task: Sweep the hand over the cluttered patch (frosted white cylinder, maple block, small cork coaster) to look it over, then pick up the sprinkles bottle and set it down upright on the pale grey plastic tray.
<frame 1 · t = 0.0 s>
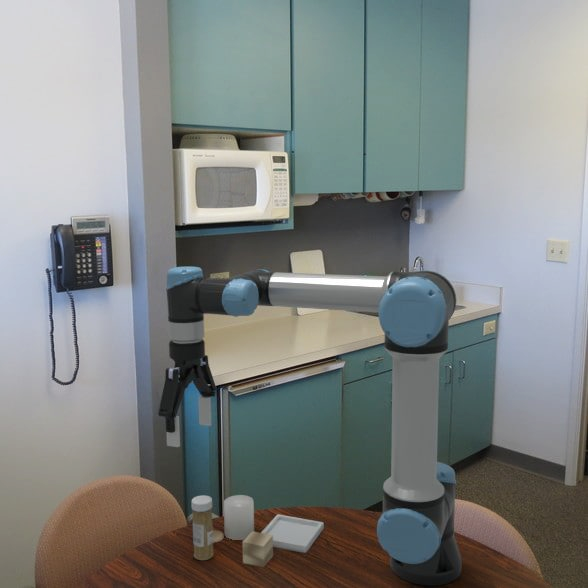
hand: (190, 435, 150), 28 cm above the table, fingers open, 13 cm apart
maple block: (258, 559, 153), on the table
cork coaster: (212, 538, 162), on the table
sprinkles bottle: (203, 556, 154), on the table
tray: (291, 536, 163), on the table
frosted white cylinder: (239, 533, 164), on the table
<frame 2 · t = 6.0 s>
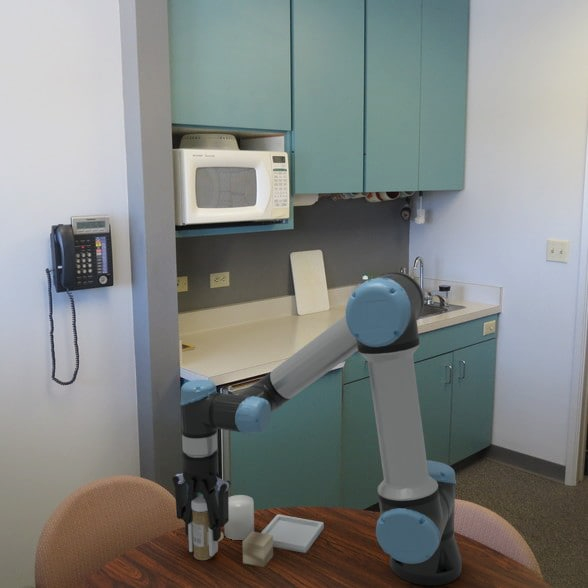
hand: (203, 550, 154), 1 cm above the table, fingers closed on sprinkles bottle, 4 cm apart
sprinkles bottle: (203, 556, 154), on the table, touching gripper
everything else where it was.
when the fingers open (3 cm above the table, at t = 11.8 s): sprinkles bottle drops 2 cm, resting on tray.
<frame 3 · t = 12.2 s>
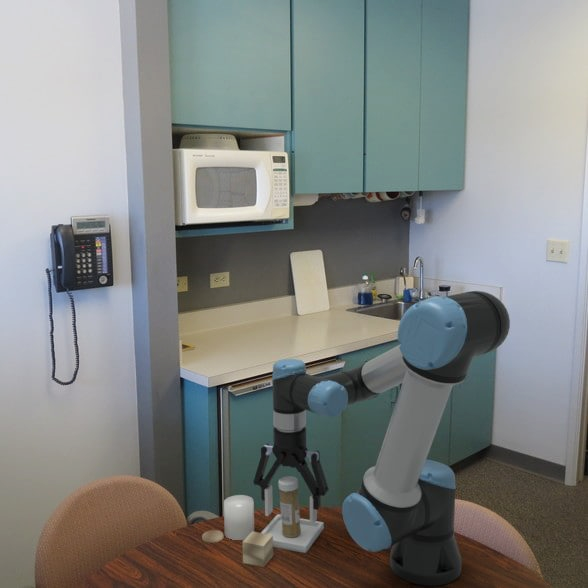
hand: (290, 517, 162), 5 cm above the table, fingers open, 10 cm apart
sprinkles bottle: (291, 533, 162), point 1 cm above the table, touching tray
everything else where it was.
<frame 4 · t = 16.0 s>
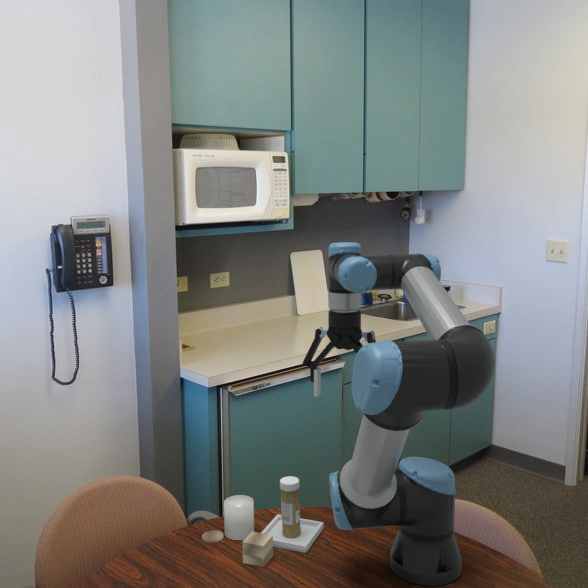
hand: (344, 398, 163), 32 cm above the table, fingers open, 13 cm apart
nothing on the table moved.
at the end: sprinkles bottle inside the target area on the tray (0.0 cm from its centre), point 0.4 cm above the tray's base; sprinkles bottle tilted 0°; the gripper is holding nothing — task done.
